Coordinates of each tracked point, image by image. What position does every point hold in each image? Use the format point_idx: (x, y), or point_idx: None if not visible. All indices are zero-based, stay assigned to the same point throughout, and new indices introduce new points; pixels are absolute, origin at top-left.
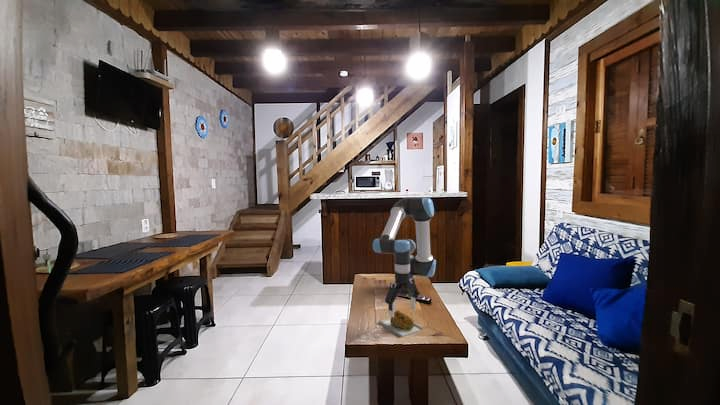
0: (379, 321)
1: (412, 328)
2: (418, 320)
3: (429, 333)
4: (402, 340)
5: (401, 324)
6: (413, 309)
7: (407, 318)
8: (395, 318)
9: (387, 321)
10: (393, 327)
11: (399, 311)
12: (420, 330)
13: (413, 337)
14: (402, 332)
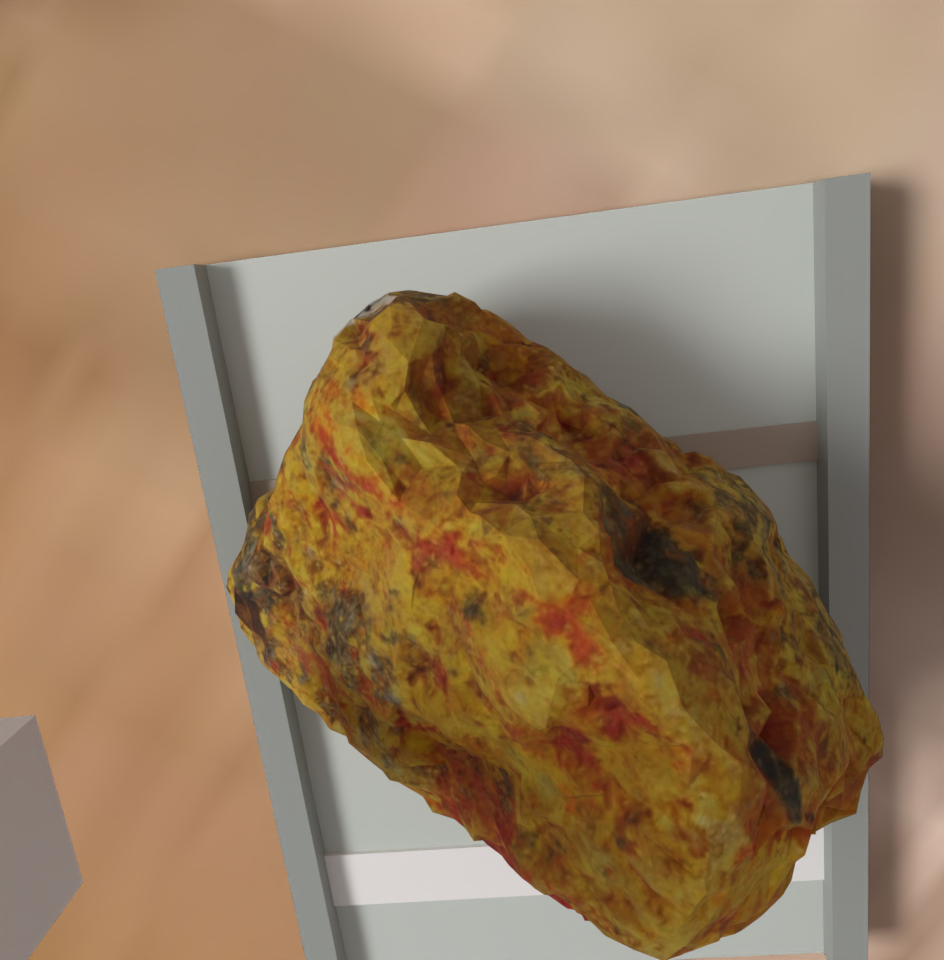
0: (864, 942)
1: None
2: (44, 670)
3: (111, 43)
4: (901, 28)
5: (692, 452)
6: (28, 771)
7: (491, 471)
8: (820, 671)
9: None
10: None
11: (670, 827)
12: (235, 262)
13: (571, 41)
14: (702, 323)
